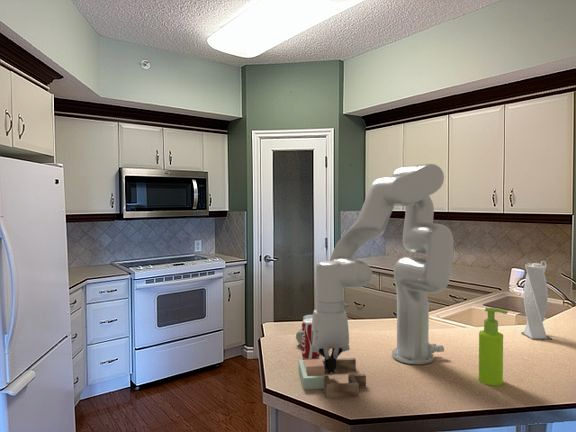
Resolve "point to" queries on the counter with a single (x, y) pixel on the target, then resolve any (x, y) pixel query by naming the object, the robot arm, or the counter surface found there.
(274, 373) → the counter surface
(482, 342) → the soap dispenser
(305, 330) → the soda can
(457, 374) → the counter surface
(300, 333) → the air freshener
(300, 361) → the end bay
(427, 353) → the robot arm
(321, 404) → the counter surface
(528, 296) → the skyscraper
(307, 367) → the block
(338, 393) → the channel
